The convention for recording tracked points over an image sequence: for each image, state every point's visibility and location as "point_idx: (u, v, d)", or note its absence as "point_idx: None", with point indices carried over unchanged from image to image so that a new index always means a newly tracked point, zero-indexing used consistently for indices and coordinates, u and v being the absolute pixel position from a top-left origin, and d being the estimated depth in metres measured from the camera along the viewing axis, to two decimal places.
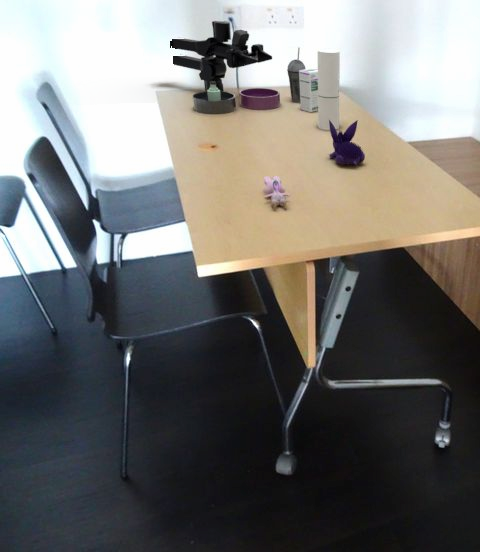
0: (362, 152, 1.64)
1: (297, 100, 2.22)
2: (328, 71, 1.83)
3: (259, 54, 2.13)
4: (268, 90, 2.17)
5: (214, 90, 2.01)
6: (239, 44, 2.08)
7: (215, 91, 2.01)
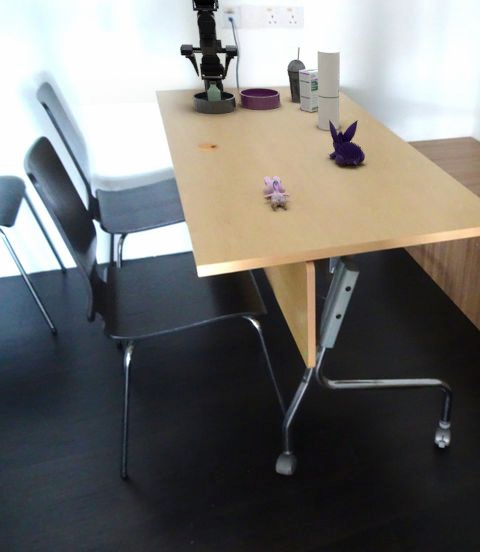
0: (362, 152, 1.64)
1: (297, 100, 2.22)
2: (328, 71, 1.83)
3: (225, 58, 1.98)
4: (268, 90, 2.17)
5: (214, 90, 2.01)
6: None
7: (215, 91, 2.01)
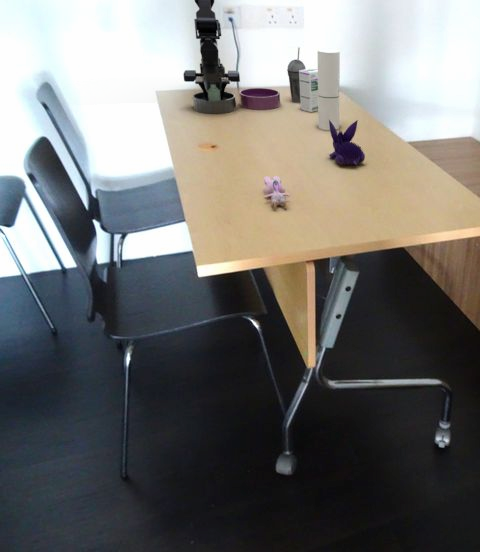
0: (362, 152, 1.64)
1: (297, 100, 2.22)
2: (328, 71, 1.83)
3: None
4: (268, 90, 2.17)
5: (214, 90, 2.01)
6: None
7: (215, 91, 2.01)
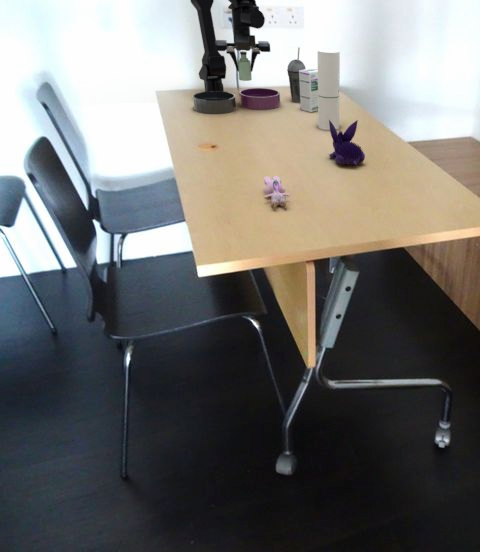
0: (362, 152, 1.64)
1: (297, 100, 2.22)
2: (328, 71, 1.83)
3: (251, 54, 2.02)
4: (268, 90, 2.17)
5: (244, 60, 2.02)
6: None
7: (245, 61, 2.02)
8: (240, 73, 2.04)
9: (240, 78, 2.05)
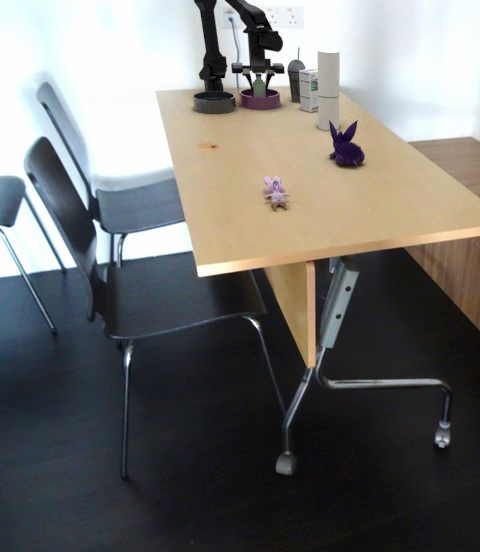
0: (362, 152, 1.64)
1: (297, 100, 2.22)
2: (328, 71, 1.83)
3: (266, 75, 2.09)
4: (268, 90, 2.17)
5: (260, 82, 2.08)
6: None
7: (260, 83, 2.08)
8: (255, 94, 2.10)
9: None
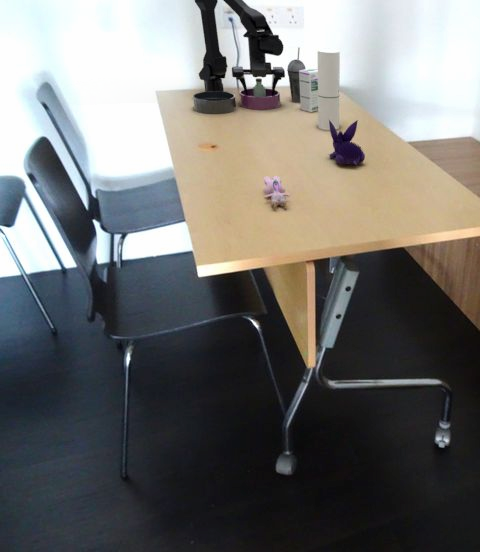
0: (362, 152, 1.64)
1: (297, 100, 2.22)
2: (328, 71, 1.83)
3: (272, 79, 2.10)
4: (268, 90, 2.17)
5: (260, 87, 2.09)
6: None
7: (261, 88, 2.09)
8: None
9: None
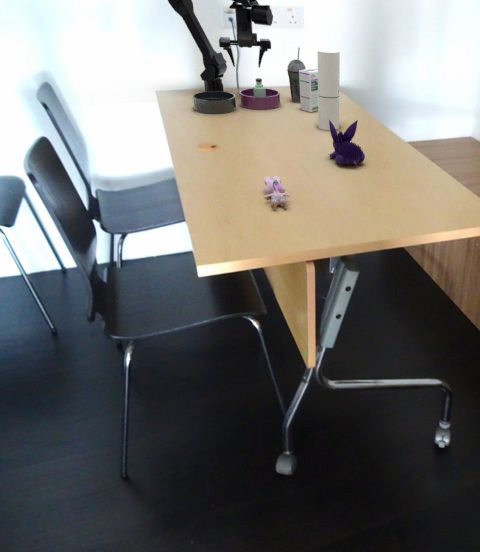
0: (362, 152, 1.64)
1: (297, 100, 2.22)
2: (328, 71, 1.83)
3: (259, 51, 2.15)
4: (268, 90, 2.17)
5: (260, 87, 2.09)
6: None
7: (261, 88, 2.09)
8: None
9: None
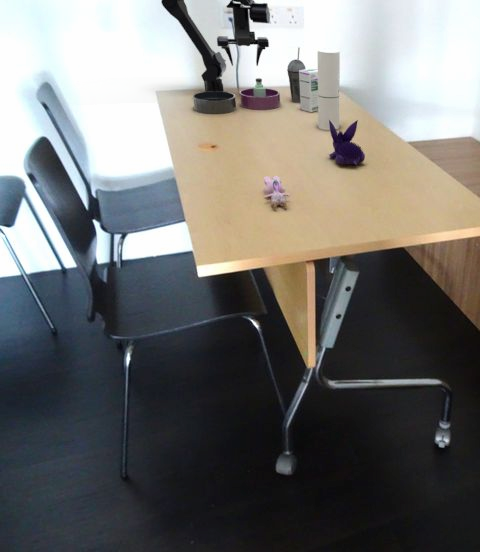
0: (362, 152, 1.64)
1: (297, 100, 2.22)
2: (328, 71, 1.83)
3: None
4: (268, 90, 2.17)
5: (260, 87, 2.09)
6: None
7: (261, 88, 2.09)
8: None
9: None
